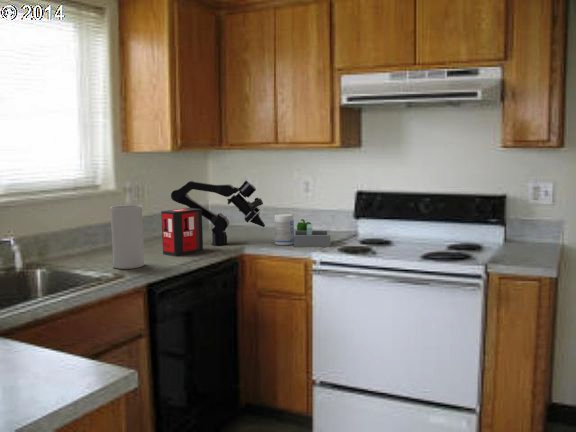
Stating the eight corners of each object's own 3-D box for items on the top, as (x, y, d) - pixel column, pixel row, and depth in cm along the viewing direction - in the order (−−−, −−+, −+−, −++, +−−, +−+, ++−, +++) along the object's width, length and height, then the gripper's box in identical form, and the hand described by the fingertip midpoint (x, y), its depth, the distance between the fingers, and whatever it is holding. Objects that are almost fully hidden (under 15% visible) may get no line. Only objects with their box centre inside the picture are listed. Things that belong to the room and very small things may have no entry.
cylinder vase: (136, 262, 262) (133, 204, 259) (149, 266, 252) (147, 206, 249) (108, 266, 253) (105, 206, 251) (121, 270, 244) (118, 209, 241)
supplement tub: (295, 245, 297) (294, 215, 295) (276, 246, 296) (275, 216, 294) (292, 242, 307) (292, 213, 305) (273, 243, 305) (273, 214, 304)
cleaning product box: (190, 249, 292) (189, 208, 290) (203, 251, 286) (201, 209, 284) (163, 254, 280) (161, 211, 277) (175, 256, 274) (173, 212, 271)
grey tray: (294, 247, 293) (293, 235, 292) (295, 241, 309) (295, 230, 309) (330, 246, 291) (330, 235, 291) (330, 241, 308) (330, 230, 308)
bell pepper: (306, 235, 328) (306, 217, 327) (315, 237, 321) (314, 218, 320) (293, 237, 324) (293, 218, 322) (302, 239, 317) (301, 220, 316)
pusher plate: (307, 246, 294) (306, 227, 293) (307, 241, 307) (307, 224, 306) (311, 246, 294) (311, 227, 293) (312, 241, 307) (312, 224, 306)
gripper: (250, 194, 290) (274, 217, 291) (255, 191, 308) (277, 212, 309) (234, 210, 291) (258, 233, 292) (240, 206, 310) (262, 228, 311)
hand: (264, 226), depth 301 cm, fingers closed
